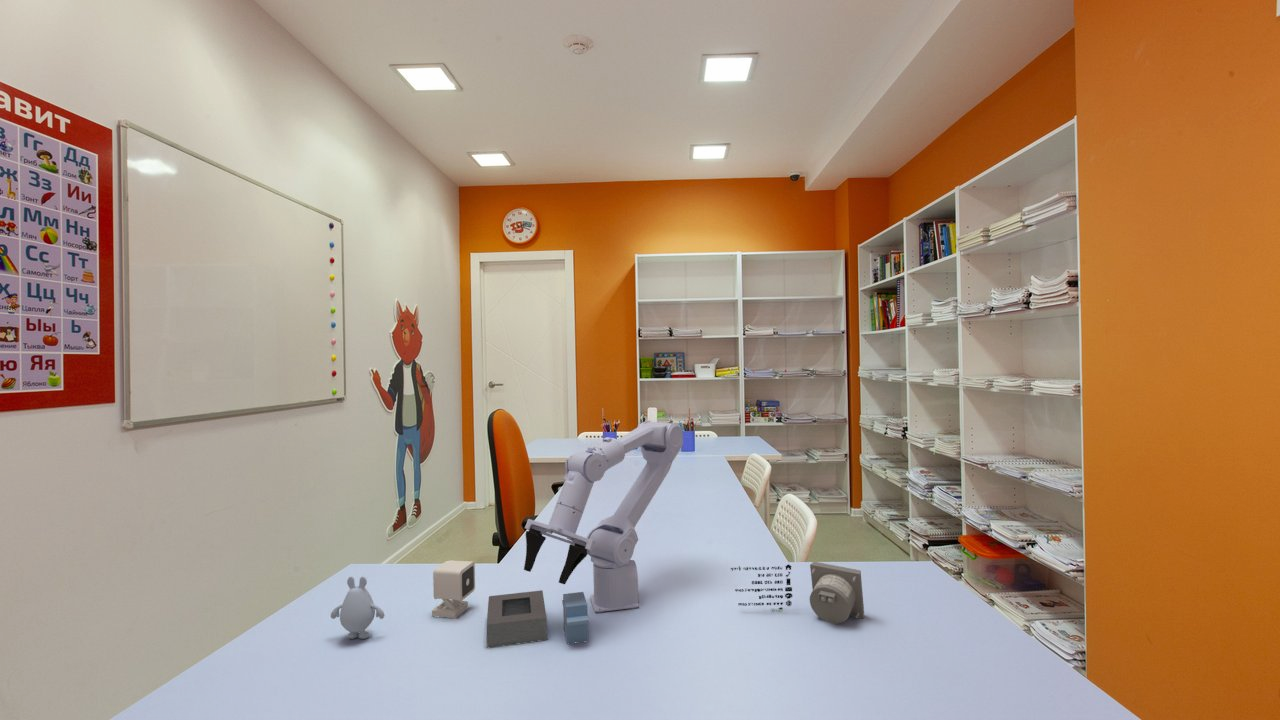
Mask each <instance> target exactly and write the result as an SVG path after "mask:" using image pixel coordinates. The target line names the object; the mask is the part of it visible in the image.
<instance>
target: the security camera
mask: <svg viewBox="0 0 1280 720" xmlns="http://www.w3.org/2000/svg"><path fill="white" fill-rule="evenodd" d="M475 568H476V565H475V561H470V560H469V561H467V560H464V561H463V560H452V559H451V560H446V561H444V562H443V563H442V564H440V565H438V566H437V567H436V568H434V569H433V572H432V581H433V583H432V585H433V586H432V587H433V599H434V600H438V599H439V600H442V602H441V603H439V605H436V606H435V607H434V608H433V609H432V610H431V617H432V616H439V617H438V618H443V617H447V619H457V618H458V617H459V616H460V615H462V613H463V612H465V609H466V608H467V607H468V608H469V601H467V600H465V599H466V598H467V597H469V596H470V595H471V594H472V593H473V592H475V589H476V569H475ZM468 608H467V609H468ZM467 609H466V610H467ZM458 615H459V616H458ZM457 616H458V617H457ZM456 617H457V618H456Z"/></svg>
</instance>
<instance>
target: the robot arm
mask: <svg viewBox="0 0 1280 720" xmlns="http://www.w3.org/2000/svg"><path fill="white" fill-rule="evenodd" d="M683 445H684V433H683V429H682V427H681V426H680V424H679V423H677V422H672V423H669V422H659V421H658V422H657V421H650V420H645V421H644V422H642V423H639V424H637V427H636V428H634V429H633V430H631V431H629V432H628V433H626V434H625V435H622V436H621V437H620V438H619V439H617V438H614V437H608V436H607V437H604V438H603V439H602V442H600V443H598V444H596V445H591V446H588V447H587V449H586V450H585V451H578V450H577V451H575V452H573V453H572V454H571V455H570V456H569V458H567V459H565V463H564V471H565V473H564V474H565V475H564V477H563V485H562V487H561V491H560V492H559V496H558V497H557V501H556V504H555V506H554V509H553V512H552V514H551V517H550V519H549V522H548V524H547V523H543V522H540V521H536V520H533V519H530V518H528V519H527V520H526V521H527V522H526V524H525V526H524V529H526V531H525V542H526V543H525V545H526V546H525V547H526V548H525V550H526V552H525V561H524V566H523V570H524V571H526V572H529V573H531V571H532V569H533V568H534V565H535V563H536V562H535V561H536V559H537V557H538V554H539V553H540V552H539V551H540V550H541V549H542V546H543V544H544V543H545V541H546V539H547V537H549V538H552V539H555V540H559V541H560V542H564V543H567V544H569V545H568V552H567V555H566V559H565V563H564V565H563V569H562V571H561V574H560V576H559V579H558V583H559V584H562V585H566V583H567V581H568V579H569V578H570V577H571V575H572V574H573V571H574V570H575V569H576V568H577V567H578V565H579V564H580V563H581V562H582V561H583V560H585V558H586V557H587V556H590V562H592V563H593V564H592V565H593V566H592V567H593V569H592V570H593V572H592V573H593V594H591V595H590V596H589V599H590V602H591V604H592V607H593V610H594V613H603V612H604V613H605V612H611V611H619V610H627V609H636V608H639V607H640V604H639V577H638V568H637V564H636V561H635V560H634V559H632V557H633V555H634V550H635V547H636V545H637V543H638V541H639V537H638V533H637V531H636V530H635V527H636V526H637V524H638V523H639V521H640V520H641V518H642V517H643V515H644V513H645V511H646V510H647V508H648V506H649V505H650V503H651V501H652V500H653V498H654V496H655V495H656V493H657V492H658V490H659V488H660V486H661V485H662V483H663V482H664V480H665V478H667V475H668V474H669V471H670V470H671V467H672V465H673V462H674V460H675V458H677V455H678V453H679V452H680V451H681V450H682V447H683ZM638 448H640V449H641V453H642V458H643V459H644V460H645V461H646V464H645V465H644V467H643V469H642V470H641V472H640V473H639V475H638V476H637V478H636V479H635V481H634V482H633V484H632V485H631V488H629V490H628V492H627V493H626V495H625V497H624V498H623V499H622V501H621V502H620V504H619V505H618V507H617V509H616V510H615V512H614V513H613V515H611V516H609V517H606V518H603V519H601V520H600V521H599V523H598V524H597V525H596V526H595V527H594V528H592V529H591V530H590V531H589V532H588V533H587V536H586V537H584V536H582V535H579V534H576V533H577V532H578V531H577V530H578V528H579V525H580V523H581V520H582V517H583V514H584V511H585V509H586V506H587V504H588V503H587V502H588V500H589V498H590V496H591V495H590V494H591V492H592V490H593V487H594V483H595V482H598V481H601V480H602V478H603V477H604V475H605V473H606V471H608V470H609V469H611V468H612V467H614V466H617V465H618V464H620V463H622V462H623V461H624V459H625V457H626V454H627V453H629V452H632V451H634V450H637V449H638ZM554 534H556V535H554ZM557 535H559V536H557ZM562 537H564V538H562Z"/></svg>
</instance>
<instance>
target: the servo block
mask: <svg viewBox="0 0 1280 720" xmlns="http://www.w3.org/2000/svg"><path fill="white" fill-rule="evenodd" d="M561 600H562V601H561V602H562V607H563V609H562V610H563V612H562V613H563V615H562V616H563V632H565V633H564V637H566V638H565V641H566V642H567V643H566V645H569V644H568V643H572V644H576V643H575V642H580V643H585V642H584V641H587V642H589V627H588V626H589V625H588V624H590V620H589V615H588V603H587V599H586V597H585V593H584V591H579V592H571V593H570V592H569V593H563V594H562V599H561Z"/></svg>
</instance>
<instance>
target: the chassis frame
mask: <svg viewBox="0 0 1280 720" xmlns="http://www.w3.org/2000/svg"><path fill="white" fill-rule="evenodd" d="M487 601H488V603H487V612H486V613H487V615H486V648H487V649H489V648H488V647H490V648H496V647H495V646H497V647H504V646H503V645H505V646H511V645H510V644H513V645H518V644H517V643H520V644H525V643H524V642H528V643H532V642H531V641H536V642H539V641H538V640H543V641H546V640H545V639H547V640H548V629H547V627H548V625H547V623H548V621H547V620H548V619H547V612H546V605H545V599H544V592H543V589H542V590H541V589H540V590H532V591H523V592H514V593H506V594H498V595H489V596H488V600H487Z"/></svg>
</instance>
